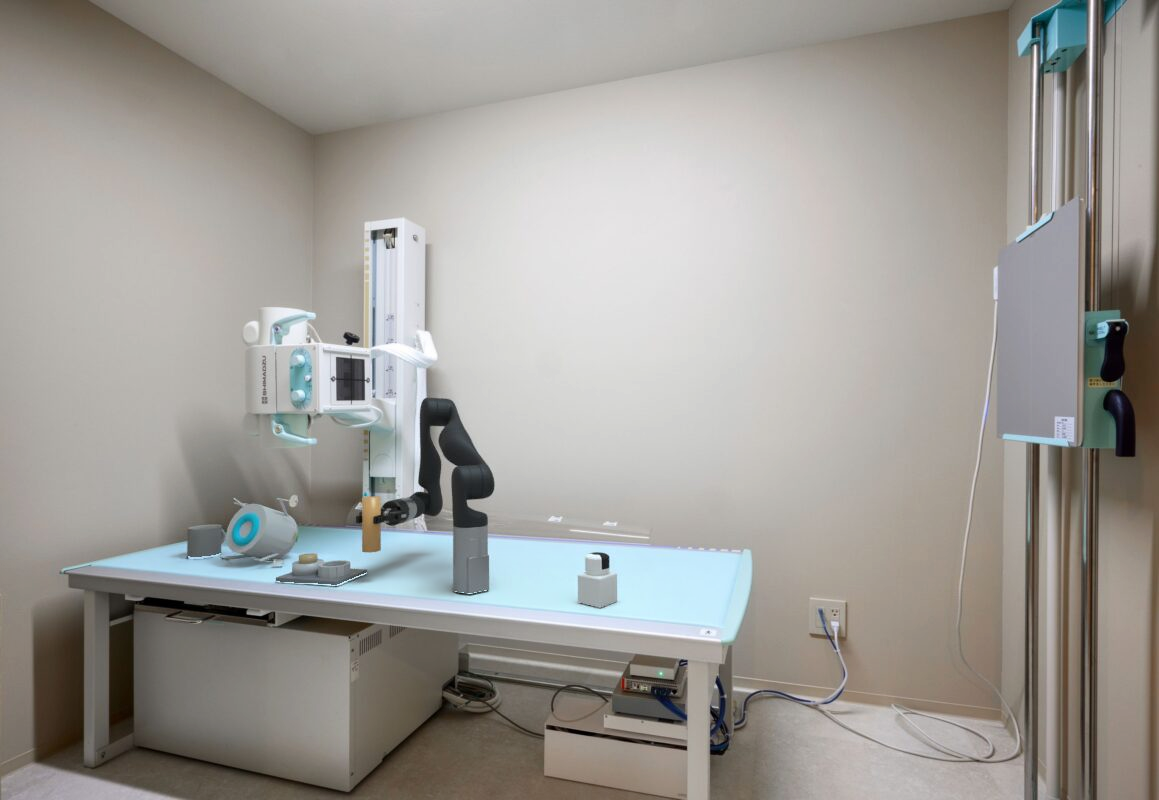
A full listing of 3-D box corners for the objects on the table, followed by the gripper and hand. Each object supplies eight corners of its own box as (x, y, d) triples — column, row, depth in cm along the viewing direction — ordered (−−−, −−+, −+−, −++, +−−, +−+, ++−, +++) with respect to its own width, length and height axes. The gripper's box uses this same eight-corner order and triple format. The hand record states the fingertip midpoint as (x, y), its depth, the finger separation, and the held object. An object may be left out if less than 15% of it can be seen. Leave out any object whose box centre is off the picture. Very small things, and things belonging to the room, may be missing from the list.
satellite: (323, 505, 206) (268, 508, 214) (279, 488, 189) (221, 492, 198) (307, 572, 196) (249, 573, 205) (259, 561, 180) (199, 562, 188)
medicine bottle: (595, 596, 153) (594, 549, 153) (617, 601, 148) (617, 553, 149) (577, 603, 147) (577, 554, 148) (600, 608, 143) (599, 558, 143)
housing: (367, 574, 177) (367, 552, 178) (336, 587, 164) (336, 563, 164) (310, 570, 182) (310, 549, 183) (275, 582, 169) (276, 559, 169)
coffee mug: (200, 560, 198) (201, 530, 198) (180, 558, 202) (180, 528, 202) (236, 552, 211) (237, 523, 211) (216, 550, 214) (217, 522, 215)
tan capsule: (383, 550, 169) (383, 497, 170) (365, 553, 166) (365, 499, 166) (376, 547, 173) (376, 495, 173) (359, 550, 170) (359, 497, 170)
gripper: (378, 498, 186) (343, 506, 169) (420, 499, 182) (388, 507, 165) (378, 522, 185) (343, 532, 169) (420, 524, 182) (388, 534, 165)
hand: (366, 520), depth 167 cm, fingers closed on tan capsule, 5 cm apart
